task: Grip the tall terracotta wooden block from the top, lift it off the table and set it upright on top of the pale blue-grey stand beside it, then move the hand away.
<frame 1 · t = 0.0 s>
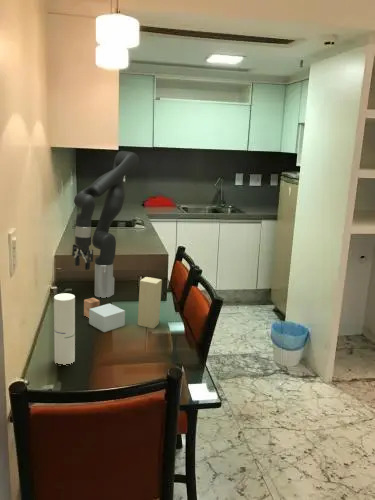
hand: (82, 267, 217), 17 cm above the table, tool pointing down, fingers open, 8 cm apart
toy refrigerator: (148, 324, 200), on the table
cylindrical container: (64, 361, 163), on the table
blue-grey stand: (106, 324, 196), on the table
terracotta block: (91, 316, 204), on the table
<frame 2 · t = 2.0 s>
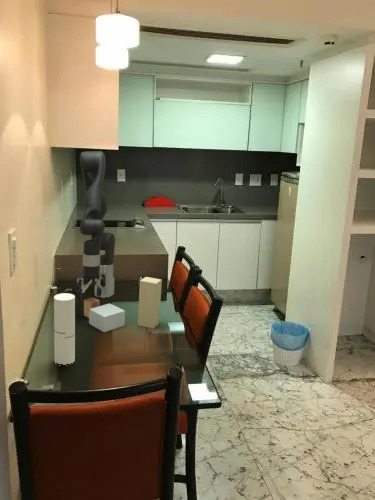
hand: (90, 298, 201), 9 cm above the table, tool pointing down, fingers open, 8 cm apart
nothing on the table moved.
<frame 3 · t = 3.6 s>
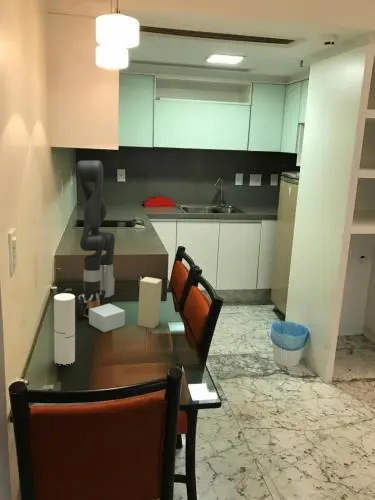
hand: (91, 313, 203), 1 cm above the table, tool pointing down, fingers closed on terracotta block, 5 cm apart
terracotta block: (91, 316, 204), on the table, touching gripper
everything else where it was.
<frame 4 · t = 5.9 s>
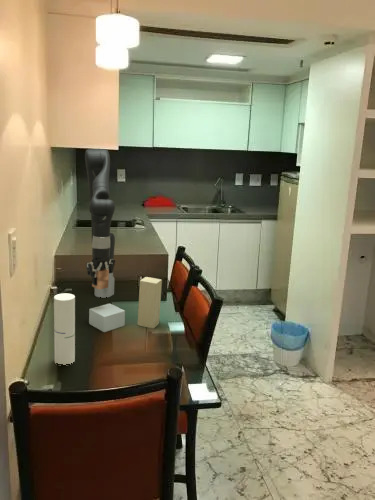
hand: (100, 283, 194), 18 cm above the table, tool pointing down, fingers closed on terracotta block, 5 cm apart
terracotta block: (100, 286, 194), point 17 cm above the table, touching gripper
everything else where it was.
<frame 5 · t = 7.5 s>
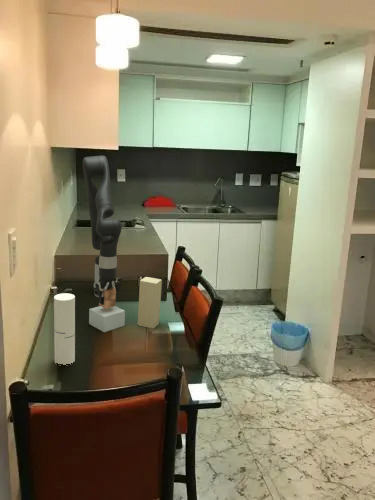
hand: (107, 302, 193), 10 cm above the table, tool pointing down, fingers closed on terracotta block, 5 cm apart
terracotta block: (107, 305, 194), point 9 cm above the table, touching gripper
everything else where it was.
when the fingers open (10 cm above the table, at t = 8.4 s): terracotta block drops 1 cm, resting on blue-grey stand.
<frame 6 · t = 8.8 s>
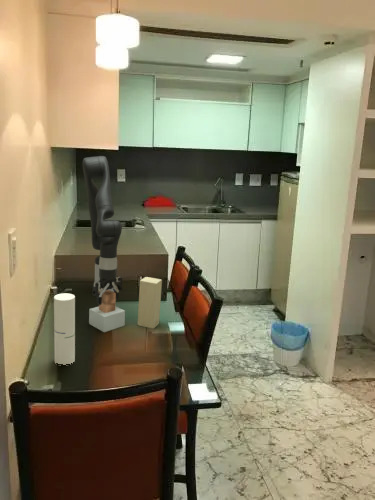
hand: (107, 302, 193), 11 cm above the table, tool pointing down, fingers open, 8 cm apart
terracotta block: (107, 309, 194), point 7 cm above the table, touching blue-grey stand
everything else where it was.
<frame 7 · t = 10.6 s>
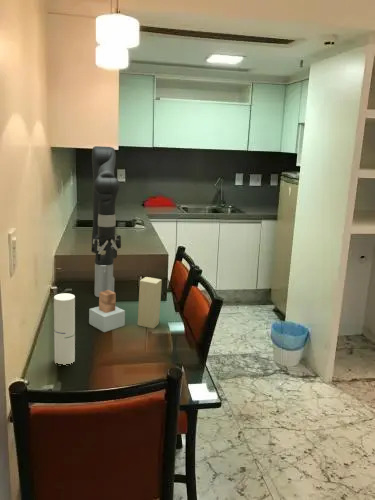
hand: (106, 259, 196), 28 cm above the table, tool pointing down, fingers open, 8 cm apart
nothing on the table moved.
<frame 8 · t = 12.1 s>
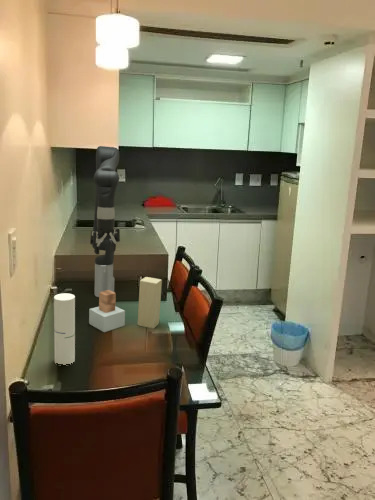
hand: (105, 252, 198), 30 cm above the table, tool pointing down, fingers open, 8 cm apart
nothing on the table moved.
at the end: terracotta block inside the target area on the blue-grey stand (0.0 cm from its centre), point 7.0 cm above the blue-grey stand's base; terracotta block tilted 0°; the gripper is holding nothing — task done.
